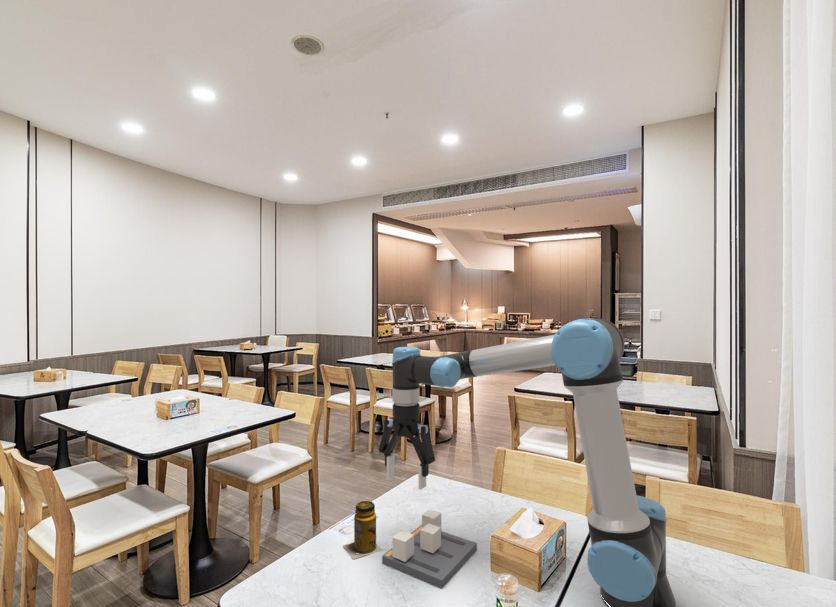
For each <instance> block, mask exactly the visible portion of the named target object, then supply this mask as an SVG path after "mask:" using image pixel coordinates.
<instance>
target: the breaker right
mask: <svg viewBox="0 0 836 607" xmlns="http://www.w3.org/2000/svg"><path fill="white" fill-rule="evenodd" d="M428 523H429V524H432V525H435V526H438V527H441V528H442V513H441V512H440V511H437V510H433V509H430V508H429V509H427V510H426V511H425V512H424V513H423V514H422V515H421V525H422V528H423V527H424V526H426V525H427V524H428Z"/></svg>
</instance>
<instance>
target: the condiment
mask: <svg viewBox="0 0 836 607" xmlns="http://www.w3.org/2000/svg"><path fill="white" fill-rule="evenodd" d="M353 518H354V520H353V524H354V525H353V527H354V528H353V530H354V531H353V532H354V533H353V535H354V536H353V538H354V539H353V541H354V542H351V543H348V544H344V545H342V547H343V549H344V550H345V551H346V552H347V554H348V555H349V556H350V557H351V558H352V560H357V559H359V558H362V557H364V556H368V555H371V554H374V553H377V552H379V551H381V550H382V548H381V547H380V546H379V545H378V544H377V513H376V510H375V503H374V502H373V501H370V500H361V501H358V502H357V503H356V505H355V513H354V517H353Z"/></svg>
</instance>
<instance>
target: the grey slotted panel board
mask: <svg viewBox="0 0 836 607" xmlns="http://www.w3.org/2000/svg"><path fill="white" fill-rule="evenodd" d="M421 529H422V524H420V525H419V526H418V527H417V528H415V530H413V531H412V532H409V533H410V534H413V535H414V555H412V556H411V557H410V558H409V559H408V560H407V561H406V562H404V561H402V560H399V559H397V558H394V557H392V548H389V550H387V551H386V552H385V553H384V554H383V555H381V564H382V565H384V566H387V567H390V568H392V569H394V570H396V571H398V572H401V573H403V574H406V575H408V576H411V577H413V578H415V579H417V580H420V581H423V582H424V583H427V584H429V585H431V586H434V587H436V588H439V589H442V590H443V588H444V587H445V586H446V585H447V584H448V583H449V582H450V580H452V578H453V577H454V576H455V575H456V574H457V573H458V572H459V570H460V569H462V568H463V567H464V566H465V564H466V563H467V562H468V561H469V560H470V559H471V557H473V555H474V554H476V552H477V551H478V543H477V542H476V541H472V540H469V539H466V538H463V537H460V536H457V535H454V534H452V533H449V532H446V531H443V530H441V547H440V548H439V549H437V550H436V551H435V552H434V553H431V552H428V551H425V550H423V549H420V530H421Z"/></svg>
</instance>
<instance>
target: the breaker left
mask: <svg viewBox="0 0 836 607" xmlns="http://www.w3.org/2000/svg"><path fill="white" fill-rule="evenodd" d="M410 533H411V532H407V531H404V530H400V531H399V532H397V533H396V534H395V535H394V536H392V537H391V538H392V544H391V545H392V546H391V547H392V557H394V558H397V559H399V560H402V561H404V562H406V561H407V560H408V559H409V558H410V557H411V556H412V555H414V535H413V534H410Z"/></svg>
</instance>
